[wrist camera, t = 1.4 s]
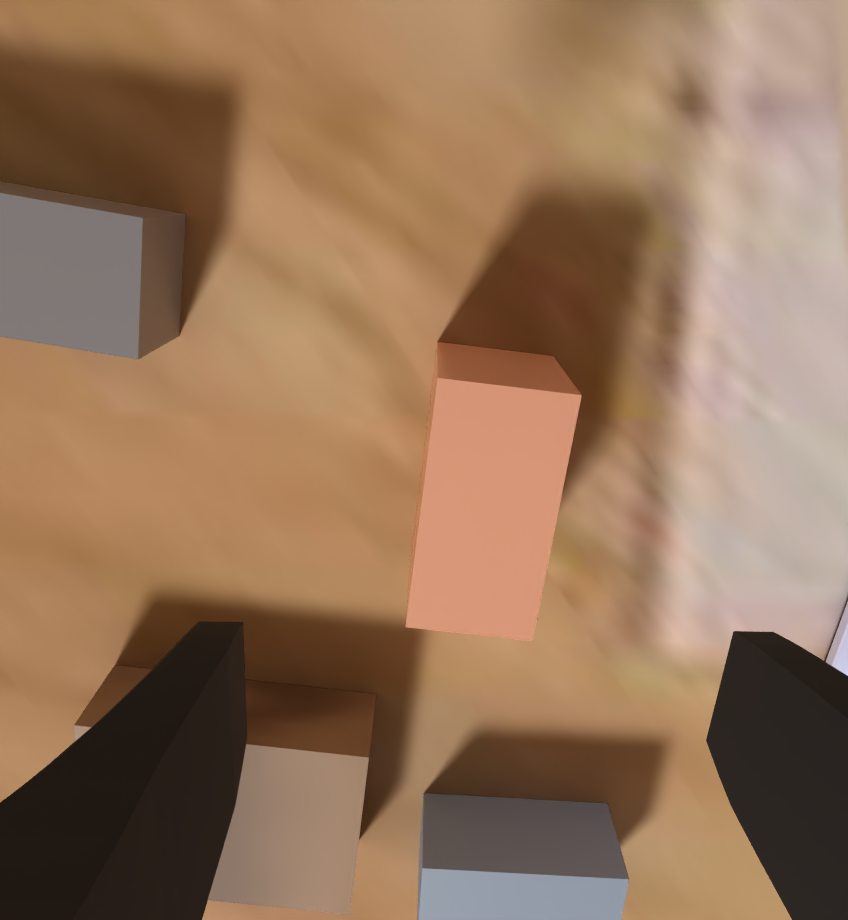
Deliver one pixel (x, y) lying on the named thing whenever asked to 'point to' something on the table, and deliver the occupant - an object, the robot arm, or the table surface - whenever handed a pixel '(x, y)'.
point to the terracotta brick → (489, 490)
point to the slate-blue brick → (518, 860)
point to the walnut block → (286, 793)
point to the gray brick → (89, 272)
